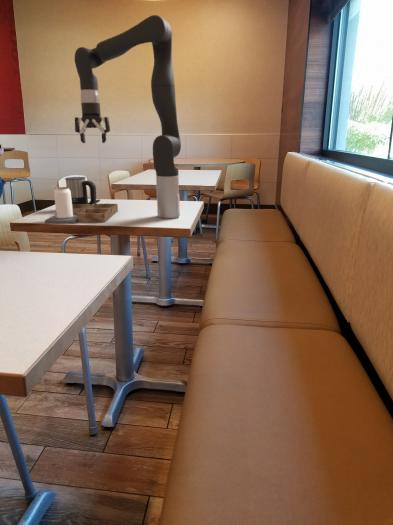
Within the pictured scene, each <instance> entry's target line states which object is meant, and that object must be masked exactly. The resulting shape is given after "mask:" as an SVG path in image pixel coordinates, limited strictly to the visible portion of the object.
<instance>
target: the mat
mask: <svg viewBox="0 0 393 525" xmlns="http://www.w3.org/2000/svg"><path fill="white" fill-rule="evenodd" d="M76 223H78V222H77V215H73V217H72V218H67V219H59V218H58V217H57V214H54V215H52V216H51V217H48V218H47V219H44V224H76Z"/></svg>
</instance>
